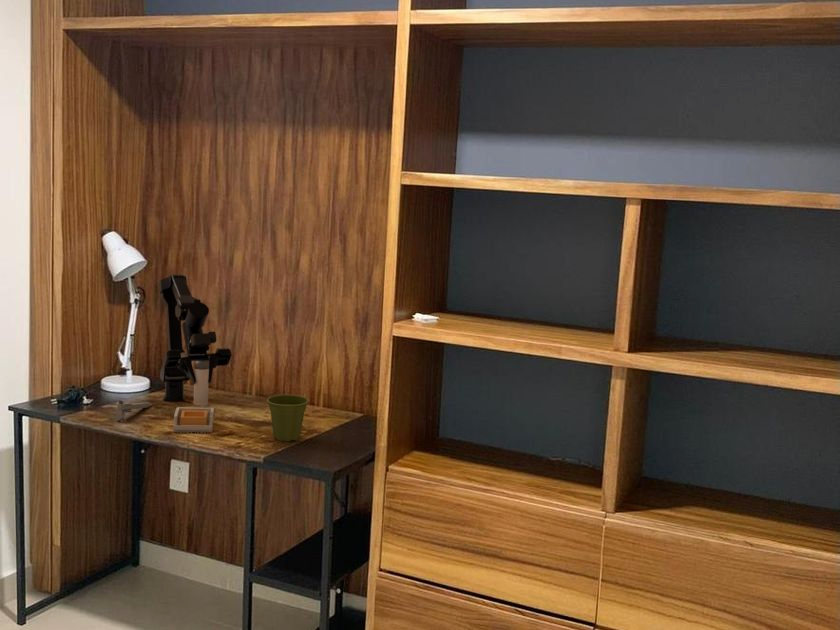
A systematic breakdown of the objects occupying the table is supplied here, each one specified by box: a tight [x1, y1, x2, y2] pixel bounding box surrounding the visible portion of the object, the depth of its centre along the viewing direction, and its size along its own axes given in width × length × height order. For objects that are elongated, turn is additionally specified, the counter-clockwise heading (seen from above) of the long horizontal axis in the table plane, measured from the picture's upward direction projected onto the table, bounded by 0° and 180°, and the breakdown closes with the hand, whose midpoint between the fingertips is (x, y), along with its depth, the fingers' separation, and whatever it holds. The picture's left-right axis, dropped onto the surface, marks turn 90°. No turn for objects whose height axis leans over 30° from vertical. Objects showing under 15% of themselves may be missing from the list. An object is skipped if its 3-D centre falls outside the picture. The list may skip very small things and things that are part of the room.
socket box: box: [172, 406, 215, 434], centre depth 245 cm, size 11×11×4 cm
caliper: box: [116, 399, 153, 422], centre depth 256 cm, size 20×1×6 cm, turn 171°
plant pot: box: [266, 394, 310, 442], centre depth 241 cm, size 12×12×11 cm
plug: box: [193, 360, 209, 406], centre depth 245 cm, size 4×4×12 cm
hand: (202, 382), depth 243 cm, fingers closed on plug, 4 cm apart
